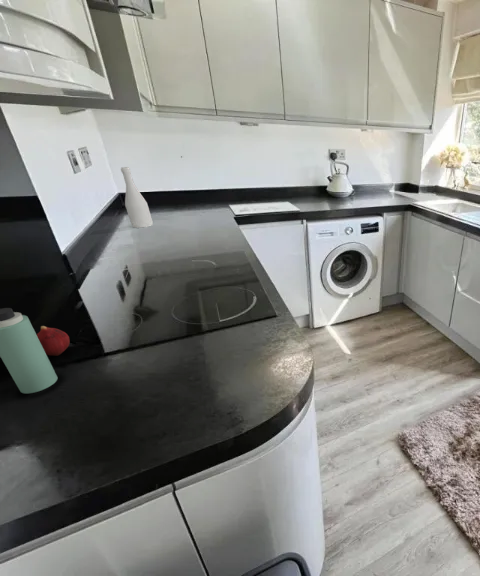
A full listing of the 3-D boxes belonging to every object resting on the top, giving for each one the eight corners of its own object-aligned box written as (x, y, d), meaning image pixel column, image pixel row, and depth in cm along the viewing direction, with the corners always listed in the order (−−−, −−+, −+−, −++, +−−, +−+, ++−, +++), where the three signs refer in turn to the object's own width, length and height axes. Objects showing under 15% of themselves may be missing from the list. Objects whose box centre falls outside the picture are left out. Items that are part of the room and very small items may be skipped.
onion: (79, 345, 80) (66, 317, 76) (67, 360, 75) (52, 331, 71) (50, 349, 78) (35, 321, 74) (35, 364, 73) (18, 335, 69)
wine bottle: (149, 227, 172) (131, 168, 159) (129, 228, 170) (109, 168, 157) (156, 223, 181) (139, 166, 167) (137, 224, 179) (118, 166, 165)
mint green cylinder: (58, 384, 68) (20, 397, 64) (56, 371, 71) (19, 383, 67) (22, 311, 60) (-24, 322, 57) (22, 301, 64) (-22, 310, 60)
